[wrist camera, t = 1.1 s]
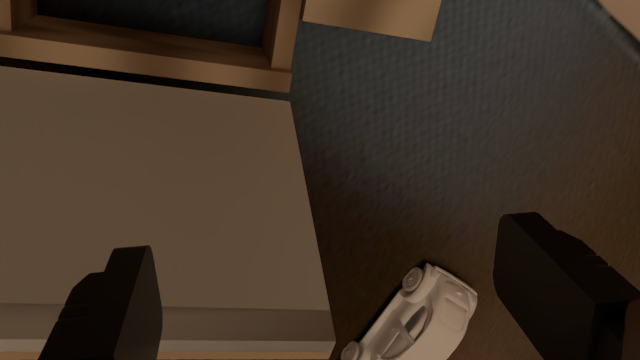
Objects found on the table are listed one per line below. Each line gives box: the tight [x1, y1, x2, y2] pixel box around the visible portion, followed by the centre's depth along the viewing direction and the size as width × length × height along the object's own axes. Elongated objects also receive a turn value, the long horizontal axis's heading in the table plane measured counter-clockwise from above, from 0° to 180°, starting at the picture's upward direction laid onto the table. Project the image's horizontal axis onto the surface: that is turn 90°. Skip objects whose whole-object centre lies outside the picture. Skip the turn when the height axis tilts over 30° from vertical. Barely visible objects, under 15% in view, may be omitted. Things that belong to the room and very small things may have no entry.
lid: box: [0, 66, 336, 360], centre depth 21 cm, size 14×14×1 cm
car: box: [341, 263, 478, 360], centre depth 42 cm, size 12×6×5 cm, turn 141°
